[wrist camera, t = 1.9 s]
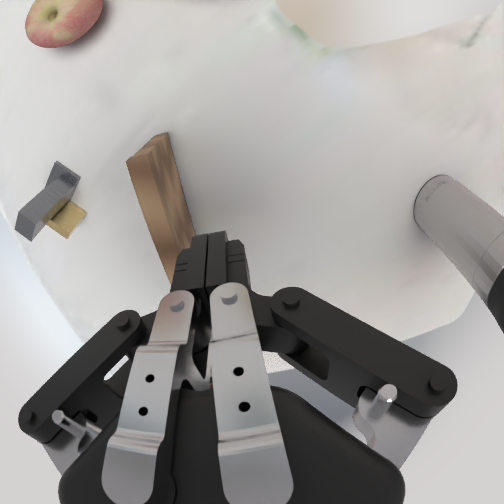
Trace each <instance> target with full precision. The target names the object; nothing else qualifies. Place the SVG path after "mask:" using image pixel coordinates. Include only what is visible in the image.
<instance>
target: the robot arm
mask: <svg viewBox="0 0 504 504" xmlns="http://www.w3.org/2000/svg"><path fill="white" fill-rule="evenodd" d="M414 216H415V220H416V223H417V224H418V226H419V227H420V228H421V229H422V230H423V231H424V232H425V233H426V234H427V235H428V236H429V237H430V238H431V239H432V241H433V242H434V243H435V244H436V245H437V246H438V247H439V248H440V249H441V250H442V252H443V253H444V254H445V255H446V256H447V257H448V258H449V259H450V261H451V262H452V263H453V264H454V265H455V266H456V268H457V269H458V270H459V271H460V272H461V274H462V275H463V276H464V277H465V279H466V280H467V281H468V282H469V284H470V285H471V286H472V287H473V289H474V290H475V291H476V292H477V294H478V295H479V296H480V298H481V299H482V300H483V301H484V303H485V304H486V306H487V307H488V309H489V310H490V311H491V313H492V314H493V316H494V317H495V319H496V321H497V323H498V325H499V326H500V328H501V330H502V331H503V333H504V217H503V216H502V215H501V214H499V213H498V212H497V211H496V210H494V209H493V208H492V207H491V206H489V205H488V204H487V203H486V202H484V201H483V200H482V199H480V198H479V197H478V196H476V195H475V194H474V193H472V192H471V191H470V190H468V189H467V188H466V187H464V186H463V185H461V184H460V183H458V182H457V181H455V180H454V179H452V178H451V177H449V176H446V175H440V176H436V177H434V178H433V179H431V180H430V181H429V182H427V183H426V184H425V186H424V187H423V188H422V190H421V191H420V193H419V195H418V197H417V199H416V203H415V208H414ZM175 265H176V266H175V269H174V274H173V279H172V284H171V290H170V293H169V294H168V295H166V296H165V297H164V298H163V299H162V300H161V302H160V304H159V307H158V310H157V311H155V312H153V313H150V314H148V315H145V316H143V317H140V315H139V314H138V313H137V312H136V311H134V310H125V311H122V312H120V313H118V314H117V315H115V316H114V317H113V318H112V319H111V320H110V321H109V322H108V323H107V324H106V325H104V326H103V327H102V328H101V329H100V330H99V331H98V332H97V333H96V334H95V335H94V336H93V337H92V338H91V339H90V340H89V341H87V342H86V343H85V344H84V345H83V346H82V347H81V348H80V349H79V350H78V351H77V352H76V353H75V354H74V355H73V356H72V357H71V358H70V359H69V360H68V361H67V362H66V363H65V364H64V365H63V366H62V367H61V368H60V369H59V370H58V371H57V372H56V373H55V374H54V375H53V376H52V377H51V378H50V379H49V380H48V381H47V382H46V383H45V384H44V385H43V386H42V387H41V388H40V389H39V390H38V391H37V392H36V393H35V394H34V395H33V396H32V397H31V398H30V399H29V400H28V401H27V403H26V404H25V405H24V406H23V407H22V409H21V410H20V413H19V417H18V422H19V426H20V429H21V430H22V431H23V432H25V433H26V434H28V435H29V436H31V437H32V438H34V439H36V440H37V441H38V442H39V443H41V444H42V445H43V447H44V448H45V450H46V452H47V453H48V455H49V456H50V458H51V460H52V461H53V463H54V464H55V466H56V467H57V469H58V470H59V472H60V473H61V475H62V477H61V479H60V482H59V489H58V494H59V500H60V503H61V504H403V501H404V497H405V482H404V479H403V476H402V474H401V472H400V471H399V469H400V468H401V466H402V465H403V463H404V462H405V461H406V459H407V458H408V456H409V455H410V453H411V452H412V450H413V448H414V447H415V446H416V444H417V442H418V441H419V439H420V438H421V436H422V434H423V433H424V431H425V429H426V428H427V425H428V424H429V422H430V420H431V419H433V417H435V416H436V415H437V414H438V413H439V412H440V411H441V410H442V409H443V408H444V407H445V406H446V405H447V404H448V403H449V402H450V401H451V400H452V399H453V398H454V396H455V394H456V392H457V379H456V377H455V375H454V373H453V372H452V371H451V370H450V369H449V368H448V367H446V366H445V365H443V364H441V363H439V362H437V361H435V360H433V359H431V358H430V357H427V356H426V355H424V354H422V353H420V352H418V351H416V350H415V349H413V348H411V347H409V346H407V345H405V344H403V343H401V342H400V341H398V340H396V339H394V338H392V337H390V336H388V335H387V334H385V333H383V332H381V331H379V330H377V329H375V328H374V327H372V326H370V325H368V324H366V323H364V322H362V321H361V320H359V319H357V318H355V317H353V316H351V315H350V314H348V313H346V312H344V311H342V310H340V309H339V308H337V307H335V306H333V305H331V304H329V303H328V302H326V301H324V300H322V299H320V298H318V297H317V296H315V295H313V294H311V293H309V292H307V291H306V290H304V289H301V288H298V287H287V288H283V289H281V290H279V291H277V292H276V293H275V294H274V295H273V296H272V297H270V296H262V295H259V294H256V293H255V292H253V291H252V290H251V283H250V275H249V269H248V264H247V259H246V253H245V248H244V245H243V244H242V243H241V242H240V241H239V239H238V240H232V241H228V238H227V234H226V231H220V232H214V233H209V234H203V235H198V236H193V237H192V240H191V246H190V248H187V249H183V250H182V251H181V252H180V254H179V255H178V256H177V259H176V264H175ZM211 329H212V334H213V341H212V340H211ZM262 351H268V352H277V353H278V355H279V356H280V357H281V358H282V359H283V360H285V361H286V362H288V363H289V364H290V365H292V366H293V367H295V368H296V369H297V370H299V371H301V372H302V373H303V374H305V375H306V376H307V377H309V378H310V379H312V380H313V381H315V382H316V383H318V384H319V385H321V386H322V387H323V388H325V389H327V390H328V391H329V392H331V393H332V394H334V395H335V396H337V397H338V398H340V399H341V400H343V401H345V402H346V403H348V404H349V405H351V406H352V407H354V408H355V409H354V412H353V422H354V425H355V427H356V428H357V429H358V430H359V431H360V432H361V433H362V434H363V435H364V436H365V438H366V440H367V445H366V444H364V443H363V442H361V441H360V440H358V439H357V438H355V437H354V436H353V435H351V434H350V433H348V432H346V431H345V430H344V429H343V428H341V427H340V426H339V425H337V424H336V423H334V422H333V421H332V420H330V419H329V418H328V417H326V416H325V415H324V414H322V413H321V412H320V411H318V410H317V409H316V408H314V407H313V406H312V405H311V404H309V403H308V402H307V401H305V400H304V399H303V398H301V397H300V396H298V395H297V394H295V393H293V392H291V391H289V390H286V389H283V388H280V387H276V386H270V384H269V380H268V376H267V372H266V367H265V363H264V359H263V354H262ZM125 355H126V356H127V357H128V358H129V360H128V361H127V362H126V363H125V364H124V365H123V366H122V367H121V368H120V369H119V370H118V371H117V372H116V373H115V374H114V375H113V376H112V377H111V378H110V379H108V380H104V377H105V375H106V374H107V373H108V372H109V371H110V370H111V369H112V368H113V367H114V366H115V365H116V364H117V363H118V362H119V361H120V360H121V359H122V358H123V357H124V356H125ZM211 369H212V379H213V388H210V370H211Z"/></svg>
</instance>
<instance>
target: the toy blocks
mask: <svg viewBox="0 0 504 504" xmlns="http://www.w3.org/2000/svg"><path fill="white" fill-rule="evenodd" d="M79 179H80V177H79V176H78V175H76V174H75V173H73V172H72V171H71V170H69V169H68V168H66V167H65V166H63V165H62V164H61V163H59V162H58V161H56V162H55V163H54V166H53V168H52V171H51V173H50V176H49V178H48V181H47V184H46V186H45V188H44V189H43V190H42V191H41V192H40V193H39V194H37V195H36V196H35V197H34V198H33V199H32V200H31V201H30V202H29V203H27V204H26V205H25V206H24V207H23V208H22V209H21V210H20V211H19V213H18V217H17V221H16V226H15V230H16V231H17V232H19V233H20V234H21V235H23V236H24V237H26V238H27V239H28V240H30V241H32V240H33V239H34V238H35V236H36V235H37V234H38V233H39V232H40V231H41V229H42V228H43V227H44V226H45V225H48V226H49V227H50V228H52V229H53V230H55V231H56V232H58V233H59V234H61V235H62V236H63V237H65V238H66V239H68V238H69V236H70V235H71V234H72V232H73V231H74V230H75V228H76V227H77V226H78V224H79V223H80V222H81V221H82V219H83V218H84V216H85V214H86V212H85V211H84V210H82V209H81V208H79V207H78V206H76V205H75V204H74V203H72V202H71V201H70V199H71V197H72V195H73V192H74V190H75V188H76V186H77V184H78V182H79Z"/></svg>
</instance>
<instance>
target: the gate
mask: <svg viewBox="0 0 504 504" xmlns="http://www.w3.org/2000/svg"><path fill="white" fill-rule="evenodd" d="M126 164H127V167H128V170H129V173H130V177H131V180H132V183H133V186H134V189H135V192H136V195H137V198H138V201H139V204H140V206H141V209H142V212H143V215H144V218H145V220H146V223H147V226H148V229H149V231H150V234H151V236H152V239H153V242H154V244H155V247H156V249H157V252H158V254H159V257H160V259H161V262H162V264H163V267H164V269H165V272H166V274H167V276H168V279H169V281H170V283H171V284H172V279H173V274H174V269H175V266H176V265H175V264H176V259H177V256H178V255H179V254H180V252H181V251H182V250H183V249H187V248H190V246H191V240H192V237H193V236H195V233H194V229H193V226H192V222H191V219H190V215H189V212H188V208H187V205H186V201H185V198H184V194H183V190H182V187H181V183H180V179H179V175H178V172H177V168H176V164H175V160H174V156H173V152H172V148H171V144H170V140H169V136H168V133H164V134H160V135H156V136H154V137H153V138H152V139H151V140H150V141H149V142H148V143H146V144H145V145H144V146H143V147H142V148H141V149H140V150H139V151H138V152H137V153H136V154H135V155H134V156H132V157H130V158H129V159H128V160H127V161H126Z"/></svg>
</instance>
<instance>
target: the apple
mask: <svg viewBox="0 0 504 504" xmlns="http://www.w3.org/2000/svg"><path fill="white" fill-rule="evenodd" d="M102 6H103V1H102V0H36V1H35V2H34V4H33V5H32V7H31V9H30V11H29V13H28V15H27V18H26V23H25V29H26V34H27V37H28V38H29V40H30V41H31V42H32V43H34V44H35V45H37V46H40V47H44V48H56V47H60V46H64V45H67V44H70V43H72V42H74V41H75V40H77V39H78V38H80V37H81V36H82V35H84V34H85V33H86V32H87V31H88V30H89V29H90V28H91V27H92V26H93V25H94V24H95V22H96V21H97V19H98V18H99V16H100V14H101V11H102Z"/></svg>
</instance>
